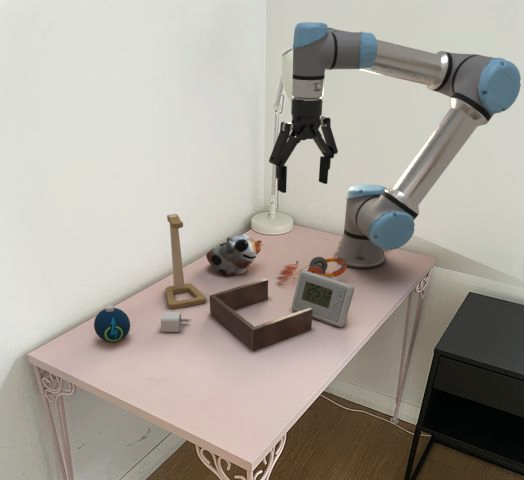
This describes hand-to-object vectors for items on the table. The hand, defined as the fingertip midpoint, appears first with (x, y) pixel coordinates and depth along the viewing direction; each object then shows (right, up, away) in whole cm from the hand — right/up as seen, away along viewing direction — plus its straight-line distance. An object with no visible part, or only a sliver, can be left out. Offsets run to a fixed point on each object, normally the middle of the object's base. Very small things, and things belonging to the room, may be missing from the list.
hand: (302, 187), depth 141 cm
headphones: (+4, -21, +21) cm, 30 cm away
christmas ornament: (-47, -40, -8) cm, 62 cm away
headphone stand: (-33, -28, +10) cm, 44 cm away
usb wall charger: (-32, -37, -4) cm, 49 cm away
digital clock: (+5, -34, +2) cm, 34 cm away
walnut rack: (-11, -35, -1) cm, 37 cm away
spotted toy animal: (-19, -17, +26) cm, 36 cm away
